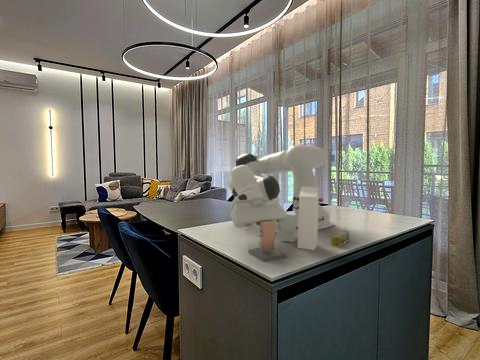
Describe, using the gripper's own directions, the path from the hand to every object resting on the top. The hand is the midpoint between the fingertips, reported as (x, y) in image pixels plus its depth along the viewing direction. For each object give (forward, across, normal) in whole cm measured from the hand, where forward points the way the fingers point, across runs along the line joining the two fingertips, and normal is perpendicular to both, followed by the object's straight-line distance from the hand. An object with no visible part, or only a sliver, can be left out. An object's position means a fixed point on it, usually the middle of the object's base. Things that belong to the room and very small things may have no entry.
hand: (268, 234), depth 86 cm
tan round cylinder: (+3, 0, -4) cm, 5 cm away
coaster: (+4, 0, -5) cm, 7 cm away
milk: (+5, -18, -5) cm, 19 cm away
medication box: (+6, -33, -4) cm, 34 cm away
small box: (-3, -18, -13) cm, 22 cm away
